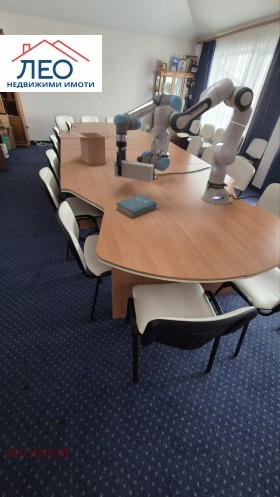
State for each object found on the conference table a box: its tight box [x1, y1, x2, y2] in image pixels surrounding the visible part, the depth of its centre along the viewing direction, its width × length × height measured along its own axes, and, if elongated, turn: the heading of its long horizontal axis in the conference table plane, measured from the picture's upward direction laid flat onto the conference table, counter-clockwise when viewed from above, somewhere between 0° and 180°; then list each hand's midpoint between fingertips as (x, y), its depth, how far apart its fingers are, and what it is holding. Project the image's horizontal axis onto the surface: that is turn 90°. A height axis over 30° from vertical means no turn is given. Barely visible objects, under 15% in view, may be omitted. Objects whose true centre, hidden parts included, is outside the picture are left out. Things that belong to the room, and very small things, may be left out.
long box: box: [113, 159, 154, 183], centre depth 162 cm, size 28×6×11 cm, turn 74°
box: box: [70, 129, 114, 166], centre depth 229 cm, size 44×36×27 cm
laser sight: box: [136, 153, 143, 163], centre depth 240 cm, size 10×22×10 cm, turn 78°
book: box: [115, 194, 158, 219], centre depth 150 cm, size 23×16×5 cm
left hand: (121, 173), depth 166 cm, fingers closed on long box, 6 cm apart
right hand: (157, 157), depth 148 cm, fingers open, 8 cm apart
